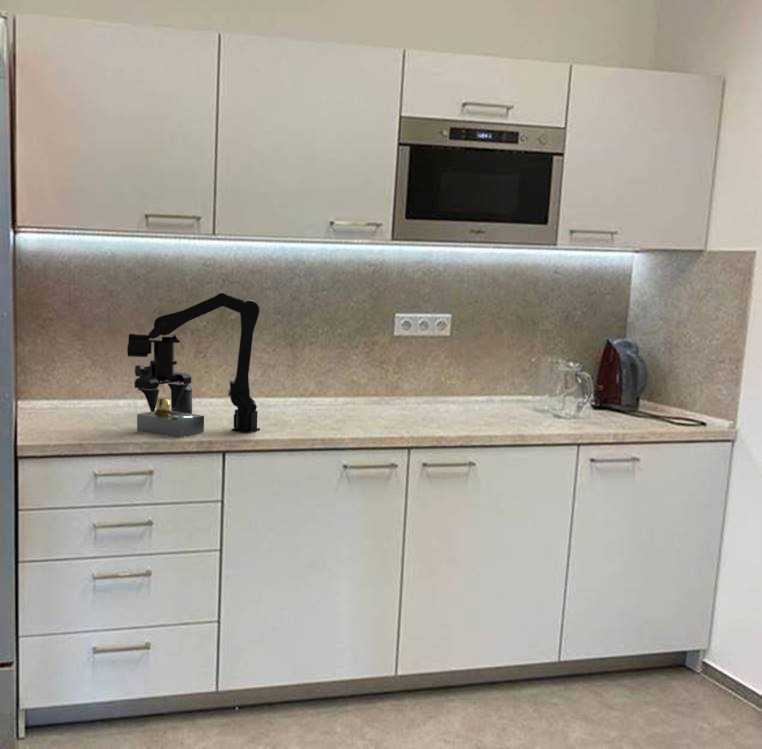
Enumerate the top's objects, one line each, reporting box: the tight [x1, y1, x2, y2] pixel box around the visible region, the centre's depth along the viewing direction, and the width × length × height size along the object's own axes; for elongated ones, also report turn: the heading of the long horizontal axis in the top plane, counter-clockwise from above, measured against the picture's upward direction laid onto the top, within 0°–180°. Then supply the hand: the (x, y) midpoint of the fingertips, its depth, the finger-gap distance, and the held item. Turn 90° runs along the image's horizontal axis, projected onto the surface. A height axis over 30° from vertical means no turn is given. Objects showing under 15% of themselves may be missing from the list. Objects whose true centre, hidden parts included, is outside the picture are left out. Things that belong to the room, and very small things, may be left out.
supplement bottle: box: [170, 384, 193, 414], centre depth 284 cm, size 7×7×12 cm
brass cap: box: [155, 397, 171, 417], centre depth 258 cm, size 5×5×8 cm
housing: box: [136, 410, 205, 439], centre depth 257 cm, size 16×11×5 cm
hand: (163, 409), depth 258 cm, fingers open, 9 cm apart
